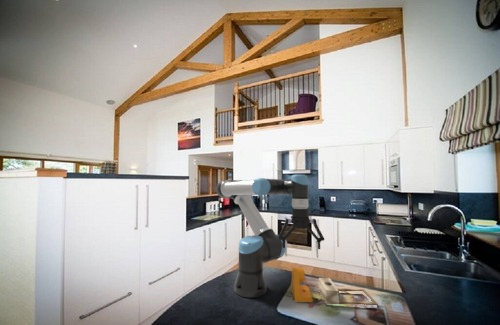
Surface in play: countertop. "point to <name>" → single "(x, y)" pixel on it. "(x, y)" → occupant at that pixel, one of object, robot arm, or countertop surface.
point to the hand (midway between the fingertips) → (301, 256)
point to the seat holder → (332, 293)
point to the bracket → (300, 286)
